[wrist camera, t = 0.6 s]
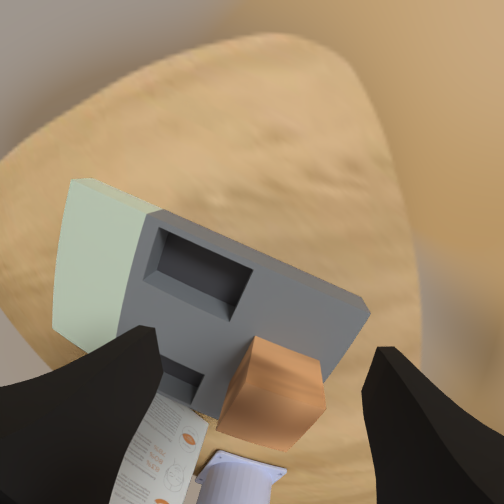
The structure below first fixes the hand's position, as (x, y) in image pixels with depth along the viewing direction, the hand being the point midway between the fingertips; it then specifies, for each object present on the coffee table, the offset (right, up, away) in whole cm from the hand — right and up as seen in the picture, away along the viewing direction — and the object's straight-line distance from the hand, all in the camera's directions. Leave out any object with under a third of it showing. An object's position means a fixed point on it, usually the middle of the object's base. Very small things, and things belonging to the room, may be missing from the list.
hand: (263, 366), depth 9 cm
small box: (-9, -11, +15) cm, 21 cm away
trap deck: (-5, -1, +11) cm, 13 cm away
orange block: (+1, -4, +9) cm, 10 cm away
